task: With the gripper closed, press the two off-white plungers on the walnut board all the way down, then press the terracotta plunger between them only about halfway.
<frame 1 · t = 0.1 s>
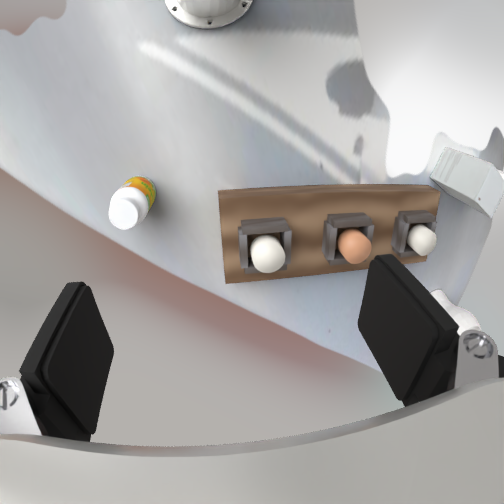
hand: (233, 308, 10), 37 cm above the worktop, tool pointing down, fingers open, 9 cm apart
supplement box: (447, 170, 48), on the worktop
cup: (431, 302, 64), on the worktop
supplement bottle: (139, 191, 44), on the worktop
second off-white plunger: (267, 253, 42), point 8 cm above the worktop, slide at 0.0 cm
terracotta plunger: (354, 245, 43), point 8 cm above the worktop, slide at 0.0 cm
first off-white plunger: (421, 239, 45), point 8 cm above the worktop, slide at 0.0 cm
button board: (334, 224, 50), on the worktop
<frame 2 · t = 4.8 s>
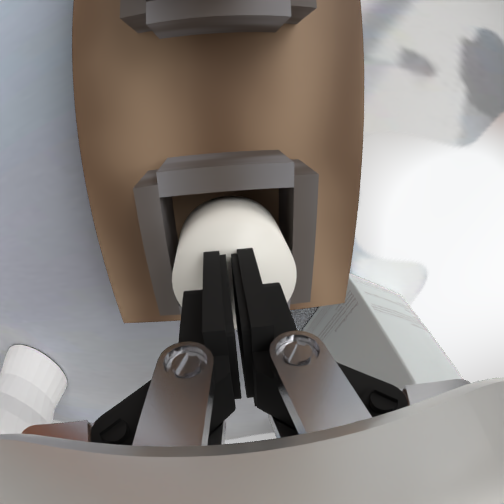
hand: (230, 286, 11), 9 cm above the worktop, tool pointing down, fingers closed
supplement box: (350, 314, 25), on the worktop
cup: (37, 368, 25), on the worktop
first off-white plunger: (232, 261, 12), point 8 cm above the worktop, slide at 0.2 cm, touching gripper
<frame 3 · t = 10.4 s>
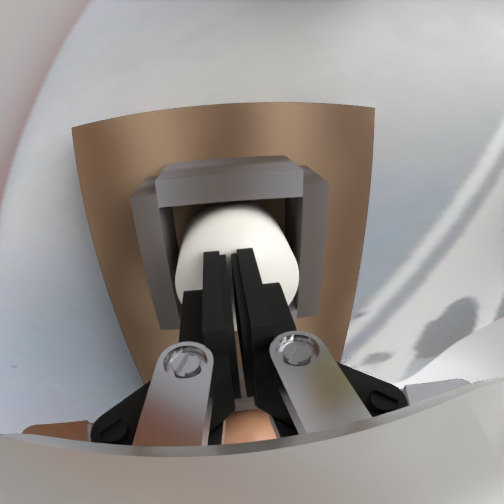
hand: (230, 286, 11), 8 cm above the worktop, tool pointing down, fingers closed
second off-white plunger: (234, 263, 12), point 7 cm above the worktop, slide at 1.1 cm, touching gripper
terracotta plunger: (250, 441, 17), point 8 cm above the worktop, slide at 0.0 cm
button board: (239, 357, 24), on the worktop
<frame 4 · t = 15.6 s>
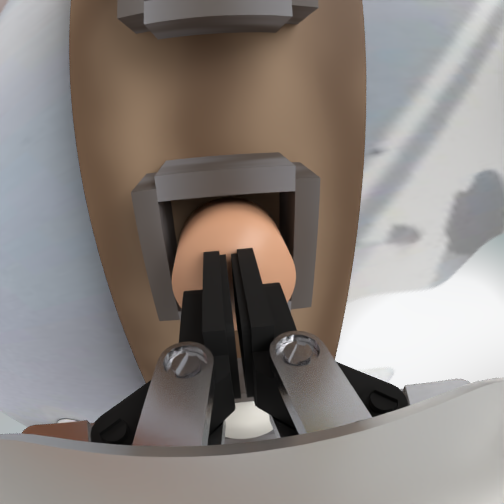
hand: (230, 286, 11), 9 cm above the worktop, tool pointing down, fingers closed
terracotta plunger: (231, 262, 12), point 7 cm above the worktop, slide at 0.5 cm, touching gripper
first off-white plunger: (243, 408, 20), point 6 cm above the worktop, slide at 2.2 cm
button board: (224, 201, 19), on the worktop
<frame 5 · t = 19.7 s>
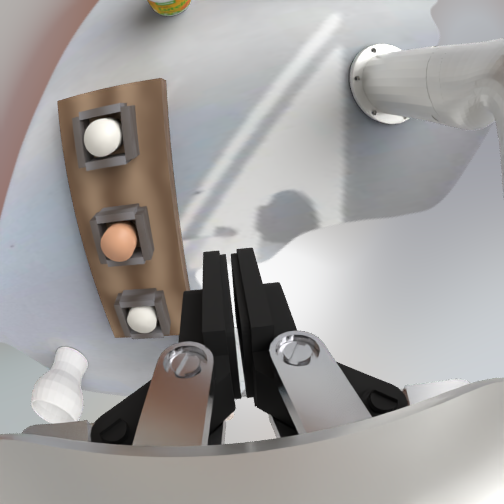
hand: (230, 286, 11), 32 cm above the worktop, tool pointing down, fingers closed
cup: (72, 358, 54), on the worktop
supplement bottle: (171, 0, 28), on the worktop
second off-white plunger: (105, 136, 31), point 6 cm above the worktop, slide at 2.2 cm
terracotta plunger: (119, 240, 36), point 7 cm above the worktop, slide at 1.0 cm
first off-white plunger: (143, 315, 43), point 6 cm above the worktop, slide at 2.2 cm
button board: (132, 219, 42), on the worktop
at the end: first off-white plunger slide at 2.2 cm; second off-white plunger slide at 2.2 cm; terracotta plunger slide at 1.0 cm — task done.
